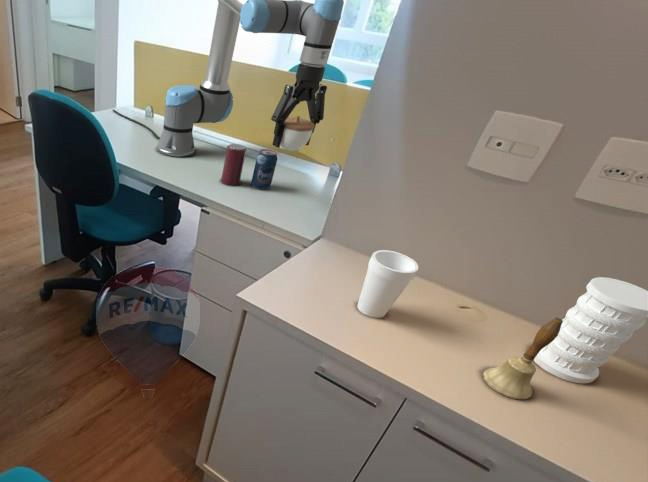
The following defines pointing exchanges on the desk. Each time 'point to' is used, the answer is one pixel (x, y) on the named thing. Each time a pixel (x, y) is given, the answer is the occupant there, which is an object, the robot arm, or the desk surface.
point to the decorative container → (595, 329)
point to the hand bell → (521, 366)
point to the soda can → (264, 169)
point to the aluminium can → (233, 164)
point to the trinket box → (296, 133)
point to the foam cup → (385, 281)
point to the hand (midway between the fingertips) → (290, 144)
